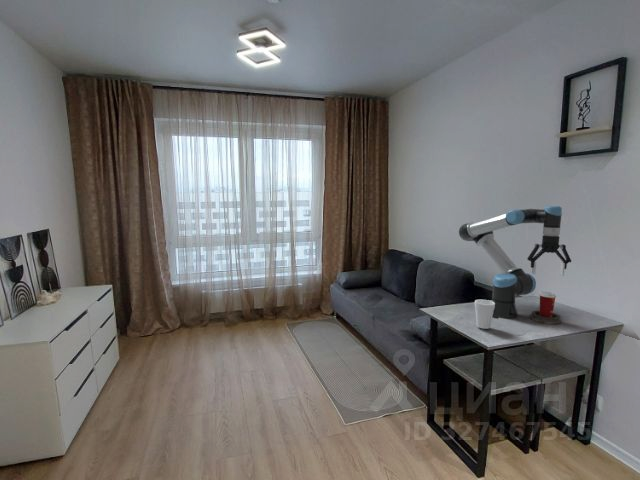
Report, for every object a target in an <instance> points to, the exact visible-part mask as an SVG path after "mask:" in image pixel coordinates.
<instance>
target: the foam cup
mask: <svg viewBox="0 0 640 480" xmlns="http://www.w3.org/2000/svg"><path fill="white" fill-rule="evenodd" d="M494 308H495V303H494V302H492V300H489V299H488V300H487V299H475V300H474V309H475V310H474V311H475V321H476V327H478V328H480V329H485V330H486V329H487V330H489V329H490V328H491V325H492V321H493V311H494Z"/></svg>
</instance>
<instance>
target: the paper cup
mask: <svg viewBox="0 0 640 480" xmlns="http://www.w3.org/2000/svg"><path fill="white" fill-rule="evenodd" d="M538 295H539V311H540V316H542V317H547V318H552V315H553V313H554V310H555V302H556V298H557V296H556V293H555V292H550V291H540V292H539V293H538Z"/></svg>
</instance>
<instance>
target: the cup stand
mask: <svg viewBox="0 0 640 480" xmlns="http://www.w3.org/2000/svg"><path fill="white" fill-rule="evenodd" d="M531 312H532V313H531V314H530V315H529V318H530V319H531V320H532V321H534V322H537V323H541V324H545V325H553V326H554V325H555V326H556V325H559V324H561V321H562V320H561V319H560V315H559V314H557V313H555V312H553V315H552V318H547V317H542V316H540V310H533V311H531Z"/></svg>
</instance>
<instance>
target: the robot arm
mask: <svg viewBox="0 0 640 480" xmlns="http://www.w3.org/2000/svg"><path fill="white" fill-rule="evenodd" d="M562 209H563V208H562V207H561V206H560V205H548V206H547V205H546V206H545V207H544V209H539V208H537V209H536V208H525V209H518V208H517V209H511V210H509V211H508V212H506V213H503V214H500V215H499V214H498V215H497V216H492V217H489V218H486V219H482V220H480V221H477V222H473V221H471V222H467V223H464V224H462V225H461V226H460V227H459V229H458V236H459V237H460V238H461V239H462V240H463V241H466V242H475V244H476V245H477V246H478V247H481V248H482V249H483V250H484V252H485V253H486V254H487V255H488V257H489V258H490V259H491V261H492V262H493V263H494V264H495V266H496V267H497V268H498V270H499V271H500V273H498V274H495V276H493V281H492V296H491V297H492V299H491V301H492V302H494V303H495V308H494V311H493V316H492V318H495V319H499V318H500V319H506V320H507V319H510V320H511V319H512V320H513V319H516V318H518V314H519V313H518V309H517V305H516V298H517V296H524V295H525V296H526V295H529V294H531V293H532V292H534V291H535V289H536V287H537V282H536V278H535V277H534V276H533V275H536V271H537V270H536V269H537V262H536V261H537V260H538V259H539V258H541V256H542V255H543V254H545V253H548V254H549V253H551V254H554V253H555V254H556V255H557V257H558V258H559V259H560V260H561V261H562V262H560V273H559V275H561V276H562V277H563V276H564V275H565V270H566V269H567V266H568V263H569V264H570V263H571V262H572V259H571V258H570V255H569V252H568V251H567V249H566V248H567V246H566V244H560V235H561V233H560V232H561V224H562V223H561V222H562V216H563V213H562V212H563V211H562ZM533 223H534V224H543V228H542V234H543V235H542V239H541V244H540V243H535V244H534V247H533V249H532V250H531V252H530V254H529V255H528V257H527V261H529V262H530V268H532V270H531V273H532V274H533V275H532V274H530V273H526V272H525V271H524V270H523V269H522V268H521V267H517V266H516V264H515V263H514V262H513V260H512V259H510V257H509V256H508V254H507V253H506V252H505V251H504V249H502V247H501V246H500V245H499V244H498V242H497V241H496V239H495V238H494V237H495V235H494V231H497V230H501V229H504V228H509V227H511V226H516V225H519V224H520V225H521V224H533ZM540 248H541V249H540ZM539 249H540V251H539ZM559 249H561V252H562V253H563V255H564V256H563V255H562V254H561V253H560V250H559ZM536 253H537V254H536Z"/></svg>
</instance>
